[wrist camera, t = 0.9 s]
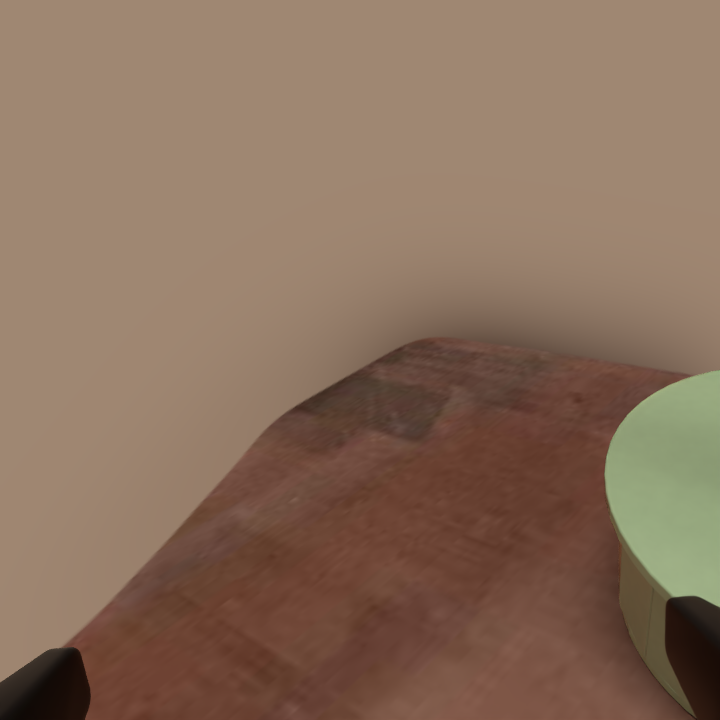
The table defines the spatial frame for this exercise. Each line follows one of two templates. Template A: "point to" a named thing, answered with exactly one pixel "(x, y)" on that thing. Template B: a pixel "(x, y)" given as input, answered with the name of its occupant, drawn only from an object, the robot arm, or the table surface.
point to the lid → (670, 487)
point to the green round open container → (647, 625)
